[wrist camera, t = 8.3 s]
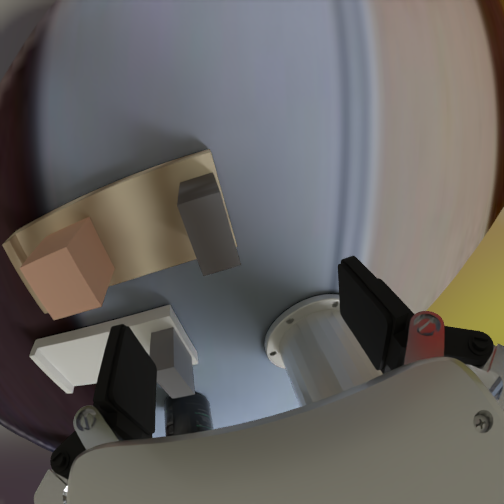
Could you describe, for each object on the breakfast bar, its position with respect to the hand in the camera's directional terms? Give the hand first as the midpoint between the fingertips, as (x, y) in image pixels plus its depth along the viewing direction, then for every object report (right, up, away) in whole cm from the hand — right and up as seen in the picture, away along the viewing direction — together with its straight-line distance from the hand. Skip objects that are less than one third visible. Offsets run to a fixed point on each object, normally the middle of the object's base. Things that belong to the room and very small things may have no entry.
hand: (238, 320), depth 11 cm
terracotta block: (-14, +3, +8) cm, 16 cm away
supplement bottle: (-9, -20, +25) cm, 33 cm away
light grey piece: (-16, -8, +16) cm, 25 cm away
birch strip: (-11, +5, +10) cm, 16 cm away
